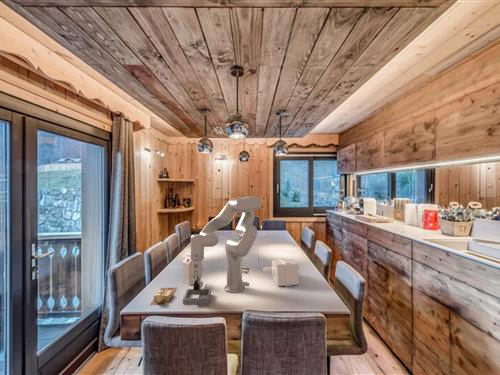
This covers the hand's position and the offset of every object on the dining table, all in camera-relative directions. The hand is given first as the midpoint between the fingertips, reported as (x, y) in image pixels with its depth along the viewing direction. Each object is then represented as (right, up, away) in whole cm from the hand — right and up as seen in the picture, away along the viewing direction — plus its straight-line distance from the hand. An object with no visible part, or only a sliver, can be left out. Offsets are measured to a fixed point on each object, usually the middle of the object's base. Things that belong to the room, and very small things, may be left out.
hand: (197, 288), depth 147 cm
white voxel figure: (+52, -6, +32) cm, 62 cm away
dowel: (0, -1, 0) cm, 1 cm away
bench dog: (-19, -6, -6) cm, 21 cm away
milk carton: (-9, -7, +24) cm, 26 cm away
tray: (0, -7, 0) cm, 7 cm away
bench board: (-19, -7, +3) cm, 21 cm away
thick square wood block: (-19, -6, 0) cm, 20 cm away
